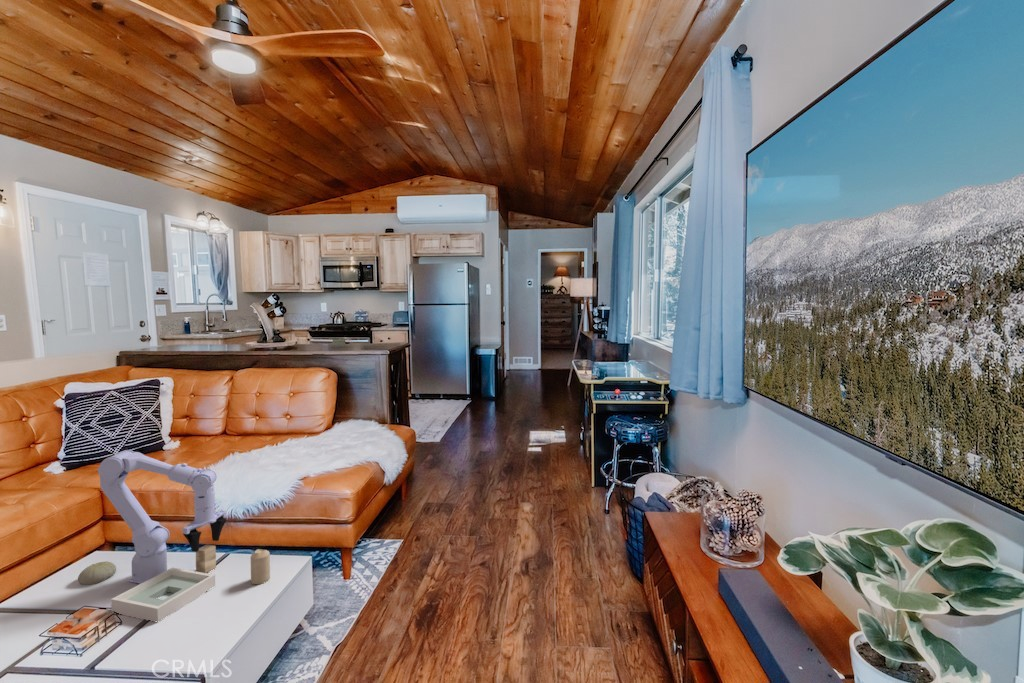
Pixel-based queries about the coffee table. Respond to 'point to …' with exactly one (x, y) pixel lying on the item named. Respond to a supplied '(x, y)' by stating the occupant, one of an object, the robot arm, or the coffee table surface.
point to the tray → (172, 580)
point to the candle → (260, 566)
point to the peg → (206, 559)
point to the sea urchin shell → (97, 573)
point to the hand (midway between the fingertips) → (205, 545)
